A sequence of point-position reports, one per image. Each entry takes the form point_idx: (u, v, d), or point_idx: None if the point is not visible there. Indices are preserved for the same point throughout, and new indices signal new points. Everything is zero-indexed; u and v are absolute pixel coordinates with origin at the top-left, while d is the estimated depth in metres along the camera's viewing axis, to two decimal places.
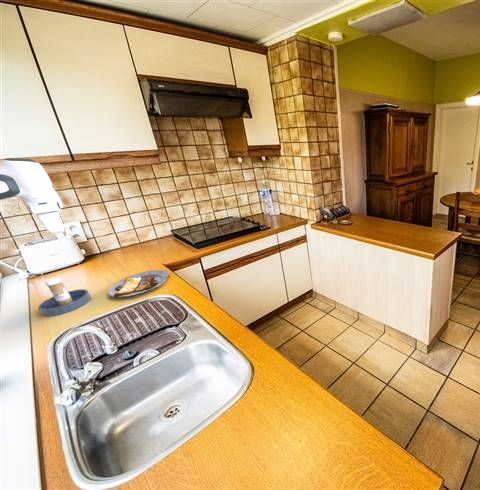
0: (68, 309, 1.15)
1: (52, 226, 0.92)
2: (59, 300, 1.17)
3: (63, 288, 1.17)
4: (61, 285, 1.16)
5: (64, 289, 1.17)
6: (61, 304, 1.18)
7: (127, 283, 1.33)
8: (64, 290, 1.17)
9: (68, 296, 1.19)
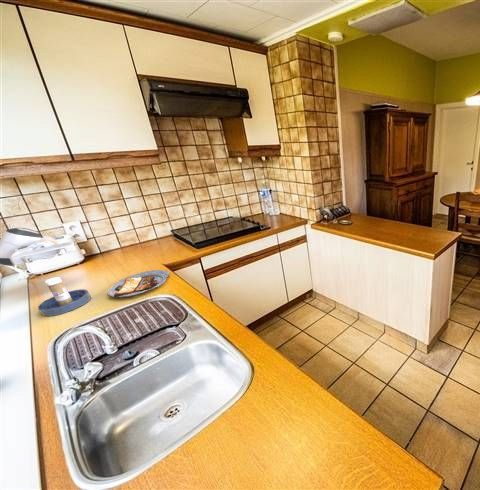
0: (68, 309, 1.15)
1: None
2: (59, 300, 1.17)
3: (63, 288, 1.17)
4: (61, 285, 1.16)
5: (64, 289, 1.17)
6: (61, 304, 1.18)
7: (127, 283, 1.33)
8: (64, 290, 1.17)
9: (68, 296, 1.19)
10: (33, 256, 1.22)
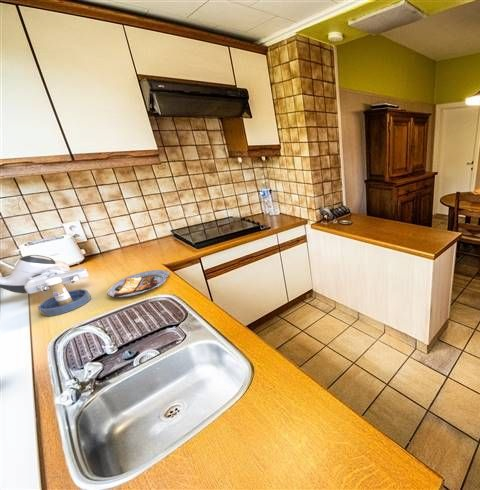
0: (68, 309, 1.15)
1: None
2: (59, 300, 1.17)
3: (63, 288, 1.17)
4: (61, 285, 1.16)
5: (64, 289, 1.17)
6: (61, 304, 1.18)
7: (127, 283, 1.33)
8: (64, 290, 1.17)
9: (68, 296, 1.19)
10: None
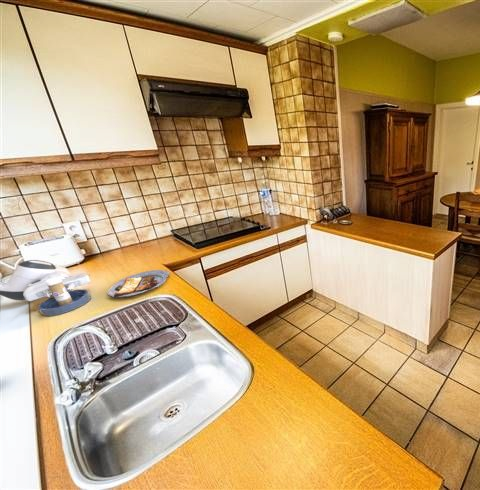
0: (68, 309, 1.15)
1: None
2: (59, 300, 1.17)
3: (63, 288, 1.17)
4: (61, 285, 1.16)
5: (64, 289, 1.17)
6: (61, 304, 1.18)
7: (127, 283, 1.33)
8: (64, 290, 1.17)
9: (68, 296, 1.19)
10: None
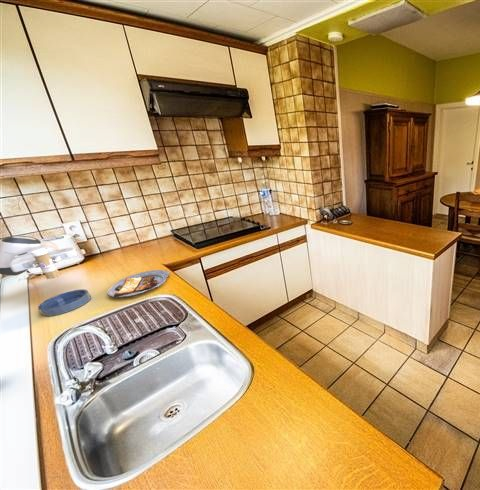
0: (68, 309, 1.15)
1: None
2: (45, 271, 1.18)
3: (49, 260, 1.18)
4: (47, 256, 1.17)
5: (50, 261, 1.19)
6: (48, 276, 1.19)
7: (127, 283, 1.33)
8: (50, 262, 1.18)
9: (55, 268, 1.20)
10: None
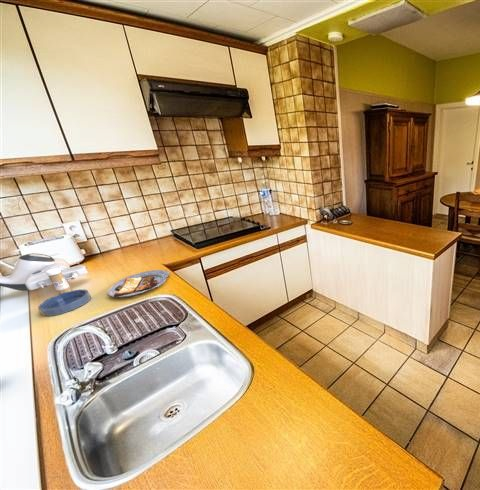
0: (68, 309, 1.15)
1: None
2: (59, 289, 1.26)
3: (62, 278, 1.27)
4: (60, 275, 1.26)
5: (63, 279, 1.27)
6: (60, 293, 1.27)
7: (127, 283, 1.33)
8: (63, 280, 1.27)
9: (67, 286, 1.28)
10: (47, 281, 1.27)
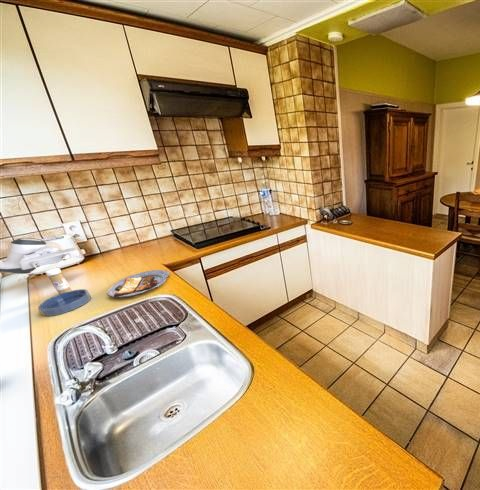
0: (68, 309, 1.15)
1: None
2: (59, 289, 1.26)
3: (62, 278, 1.27)
4: (60, 275, 1.26)
5: (63, 279, 1.27)
6: (60, 293, 1.27)
7: (127, 283, 1.33)
8: (63, 280, 1.27)
9: (67, 286, 1.28)
10: (40, 261, 1.31)
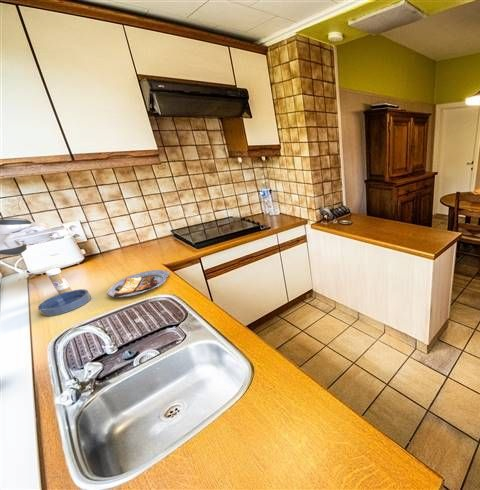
0: (68, 309, 1.15)
1: None
2: (59, 289, 1.26)
3: (62, 278, 1.27)
4: (60, 275, 1.26)
5: (63, 279, 1.27)
6: (60, 293, 1.27)
7: (127, 283, 1.33)
8: (63, 280, 1.27)
9: (67, 286, 1.28)
10: (26, 239, 1.27)
